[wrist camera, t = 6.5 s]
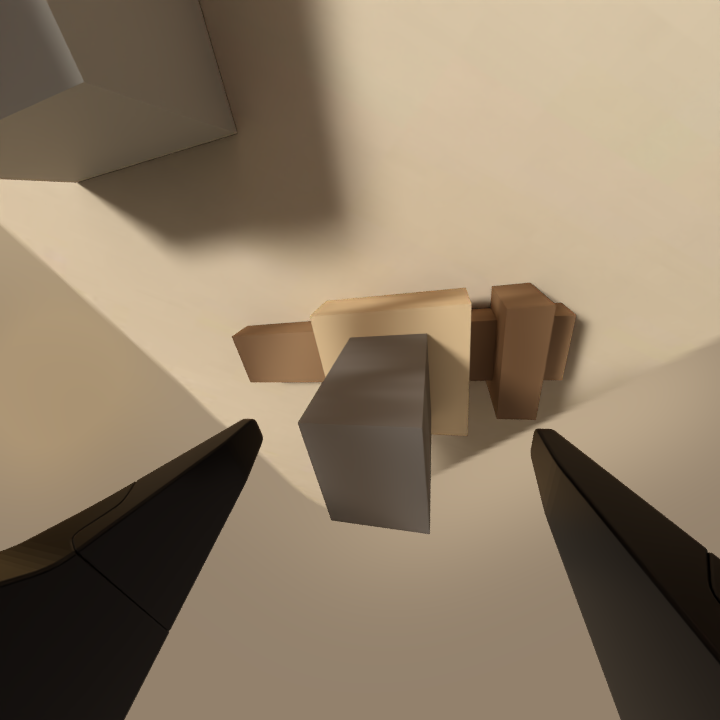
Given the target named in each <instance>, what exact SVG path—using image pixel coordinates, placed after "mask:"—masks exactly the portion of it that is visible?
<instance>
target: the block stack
mask: <svg viewBox="0 0 720 720" xmlns="http://www.w3.org/2000/svg"><path fill="white" fill-rule="evenodd" d="M310 320H311V324H312V328H313V332H314V335H315V339H316V343H317V347H318V351H319V355H320V359H321V362H322V366H323V370H324V374H325V379H324V381H323V382H322V384H321V386H320V387H319V389H318V391H317V392H316V394H315V396H314V397H313V399H312V400H311V402H310V404H309V405H308V407H307V409H306V410H305V412H304V414H303V415H302V417H301V418H300V420H299V422H298V425H299V428H300V431H301V434H302V437H303V440H304V443H305V445H306V448H307V451H308V454H309V457H310V460H311V463H312V466H313V469H314V471H315V474H316V477H317V480H318V483H319V486H320V489H321V492H322V495H323V497H324V500H325V503H326V506H327V509H328V512H329V515H330V518H331V520H333V521H340V522H347V523H354V524H361V525H368V526H375V527H383V528H390V529H397V530H404V531H411V532H418V533H425V534H430V481H431V434H438V435H461V436H468V403H469V369H470V335H471V301H470V298H469V296H468V293H467V290H466V288H458V289H447V290H437V291H426V292H416V293H405V294H395V295H384V296H374V297H363V298H353V299H342V300H331V301H326V302H325V303H324V304H323V305H321V306H320V307H319V308H318V309H317V310H316V311H315V312H314V313H313V314H312V315H311V316H310Z"/></svg>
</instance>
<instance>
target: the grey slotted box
mask: <svg viewBox="0 0 720 720" xmlns="http://www.w3.org/2000/svg"><path fill="white" fill-rule="evenodd" d="M233 134H237V131H236V127H235V124H234V120H233V117H232V113H231V110H230V107H229V103H228V100H227V96H226V93H225V90H224V86H223V83H222V79H221V76H220V72H219V69H218V66H217V62H216V59H215V55H214V52H213V48H212V45H211V42H210V38H209V35H208V31H207V28H206V25H205V21H204V18H203V14H202V11H201V7H200V4H199V1H198V0H0V179H11V180H32V181H53V182H74V183H76V182H79V181H83V180H86V179H89V178H93V177H96V176H99V175H102V174H106V173H109V172H112V171H116V170H119V169H122V168H125V167H129V166H132V165H135V164H138V163H142V162H145V161H148V160H152V159H155V158H158V157H161V156H165V155H168V154H171V153H174V152H178V151H181V150H184V149H188V148H191V147H194V146H197V145H201V144H204V143H207V142H210V141H214V140H217V139H220V138H224V137H227V136H230V135H233Z"/></svg>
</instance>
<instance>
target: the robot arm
mask: <svg viewBox="0 0 720 720" xmlns="http://www.w3.org/2000/svg"><path fill="white" fill-rule="evenodd" d="M262 441H263V436H262V433H261V431H260V429H259V426H258V424H257V422H256V421H255V420H254V419H243V420H241V421H239V422H237V423H236V424H234V425H232V426H230V427H229V428H227V429H225V430H224V431H222V432H220V433H218V434H217V435H215V436H213V437H211V438H210V439H208V440H206V441H205V442H203V443H201V444H199V445H198V446H196V447H194V448H192V449H191V450H189V451H187V452H186V453H184V454H182V455H180V456H179V457H177V458H175V459H174V460H172V461H170V462H168V463H166V464H165V465H163V466H161V467H160V468H158V469H156V470H154V471H153V472H151V473H150V474H147V475H146V476H144V477H142V478H141V479H139V480H137V482H134V483H132V484H130V485H128V486H127V487H125V488H123V489H121V490H120V491H118V492H116V493H115V494H113V495H111V496H109V497H107V498H105V499H104V500H102V501H100V502H98V503H96V504H94V505H93V506H91V507H89V508H87V509H85V510H83V511H81V512H80V513H78V514H76V515H74V516H72V517H70V518H68V519H66V520H64V521H62V522H60V523H59V524H57V525H55V526H53V527H51V528H49V529H47V530H45V531H43V532H41V533H40V534H38V535H36V536H34V537H32V538H30V539H28V540H26V541H24V542H22V543H20V544H18V545H16V546H13V547H11V548H8V549H6V550H3V551H0V720H124V719H125V717H126V715H127V714H128V712H129V710H130V708H131V706H132V704H133V702H134V700H135V698H136V696H137V694H138V692H139V690H140V688H141V686H142V684H143V682H144V680H145V678H146V676H147V675H148V672H149V671H150V669H151V667H152V665H153V663H154V661H155V659H156V657H157V655H158V653H159V651H160V649H161V647H162V645H163V643H164V641H165V639H166V637H167V635H168V634H169V630H170V629H171V627H172V625H173V623H174V621H175V620H176V618H177V616H178V614H179V612H180V610H181V608H182V606H183V604H184V602H185V600H186V598H187V596H188V594H189V592H190V590H191V588H192V586H193V585H194V583H195V581H196V579H197V577H198V575H199V573H200V571H201V569H202V567H203V565H204V563H205V561H206V559H207V557H208V555H209V553H210V551H211V549H212V547H213V546H214V543H215V542H216V540H217V538H218V536H219V534H220V532H221V530H222V528H223V526H224V524H225V522H226V520H227V518H228V516H229V514H230V513H231V511H232V509H233V507H234V505H235V503H236V501H237V499H238V497H239V495H240V493H241V491H242V489H243V487H244V485H245V483H246V481H247V479H248V476H249V474H250V471H251V469H252V466H253V464H254V462H255V459H256V456H257V454H258V452H259V449H260V447H261V444H262ZM531 459H532V463H533V467H534V471H535V475H536V479H537V483H538V487H539V491H540V495H541V500H542V504H543V507H544V511H545V515H546V517H547V521H548V523H549V526H550V529H551V532H552V534H553V537H554V540H555V543H556V545H557V548H558V551H559V553H560V556H561V559H562V561H563V564H564V567H565V570H566V572H567V575H568V578H569V580H570V583H571V586H572V588H573V591H574V594H575V597H576V599H577V602H578V605H579V608H580V610H581V613H582V616H583V618H584V621H585V624H586V626H587V629H588V632H589V635H590V637H591V640H592V643H593V646H594V648H595V651H596V654H597V656H598V659H599V662H600V664H601V667H602V670H603V672H604V675H605V678H606V681H607V683H608V686H609V689H610V692H611V694H612V697H613V700H614V702H615V705H616V708H617V710H618V713H619V716H620V719H621V720H720V559H719V558H718V557H717V556H715V555H714V554H713V553H708V552H707V549H706V548H705V547H704V546H702V545H701V544H700V543H699V542H697V541H696V540H695V539H693V538H692V537H691V536H689V535H688V534H687V533H686V532H684V531H683V530H682V529H680V528H679V527H678V526H677V525H675V524H674V523H673V522H672V521H670V520H669V519H668V518H666V517H665V516H664V515H663V514H661V513H660V512H659V511H657V510H656V509H655V508H654V507H652V506H651V505H650V504H648V503H647V502H646V501H645V500H643V499H642V498H641V497H639V496H638V495H637V494H636V493H634V492H633V491H632V490H630V489H629V488H628V487H627V486H625V485H624V484H623V483H621V482H620V481H619V480H618V479H616V478H615V477H614V476H612V475H611V474H610V473H609V472H607V471H606V470H605V469H603V468H602V467H601V466H599V465H598V464H597V463H596V462H594V461H593V460H592V459H591V458H589V457H588V456H587V455H585V454H584V453H583V452H582V451H580V450H579V449H578V448H576V447H575V446H574V445H573V444H571V443H570V442H569V441H567V440H566V439H565V438H564V437H562V436H561V435H560V434H558V433H557V432H556V431H554V430H552V429H536V430H535V431H534V435H533V441H532V447H531Z"/></svg>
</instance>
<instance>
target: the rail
mask: <svg viewBox="0 0 720 720" xmlns="http://www.w3.org/2000/svg"><path fill="white" fill-rule="evenodd" d="M575 319H576V314H574V313H573V312H572V311H571V310H570V309H568V308H567V307H566V306H565V305H563V304H562V303H553V302H552V301H551V300H549V299H548V298H547V297H546V296H545V295H544V294H543V293H541V292H540V291H539V290H538V289H537V288H536V287H534V286H533V285H532V284H531V283H523V284H512V285H501V286H492V294H491V308H484V309H471V335H470V369H469V381H486V382H487V386H488V389H489V393H490V396H491V400H492V403H493V407H494V410H495V414H496V417H497V419H527V420H536V417H537V411H538V405H539V400H540V394H541V389H542V383H543V380H562V379H563V374H564V369H565V365H566V360H567V356H568V351H569V346H570V342H571V337H572V333H573V328H574V323H575ZM232 338H233V341H234V343H235V346H236V348H237V350H238V353H239V355H240V358H241V360H242V362H243V365H244V367H245V370H246V372H247V375H248V377H249V379H250V382H323V381H324V379H325V374H324V370H323V366H322V362H321V359H320V355H319V351H318V347H317V343H316V339H315V335H314V332H313V328H312V324H311V321H308V322H295V323H281V324H268V325H254V326H247V327H245V328H244V329H242V330H241V331H239V332H238V333H236V334H235V335H233V336H232Z"/></svg>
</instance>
